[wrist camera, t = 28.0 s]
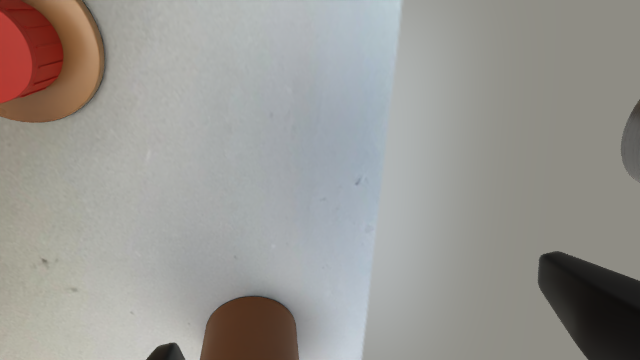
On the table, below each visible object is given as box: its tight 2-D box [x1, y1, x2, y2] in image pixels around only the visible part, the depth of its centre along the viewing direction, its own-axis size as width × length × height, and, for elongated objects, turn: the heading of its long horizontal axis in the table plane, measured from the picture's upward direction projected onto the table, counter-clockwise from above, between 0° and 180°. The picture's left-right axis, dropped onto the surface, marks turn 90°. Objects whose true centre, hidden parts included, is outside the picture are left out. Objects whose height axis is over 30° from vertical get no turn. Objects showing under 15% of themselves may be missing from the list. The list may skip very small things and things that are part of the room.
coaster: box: [0, 0, 105, 123], centre depth 17 cm, size 7×7×1 cm
